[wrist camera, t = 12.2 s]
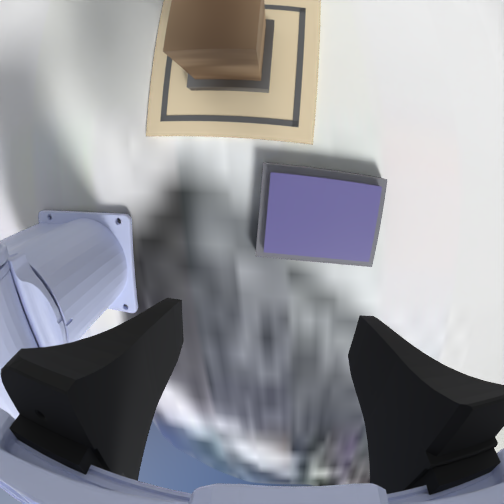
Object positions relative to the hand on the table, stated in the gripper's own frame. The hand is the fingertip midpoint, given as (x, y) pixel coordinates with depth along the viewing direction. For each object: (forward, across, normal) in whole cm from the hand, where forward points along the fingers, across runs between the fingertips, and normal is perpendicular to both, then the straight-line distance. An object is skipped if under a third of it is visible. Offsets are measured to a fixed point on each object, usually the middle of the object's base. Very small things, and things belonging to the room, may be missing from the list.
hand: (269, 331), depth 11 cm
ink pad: (+9, -3, -3) cm, 10 cm away
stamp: (+9, +4, -13) cm, 16 cm away
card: (+9, +4, -13) cm, 16 cm away
